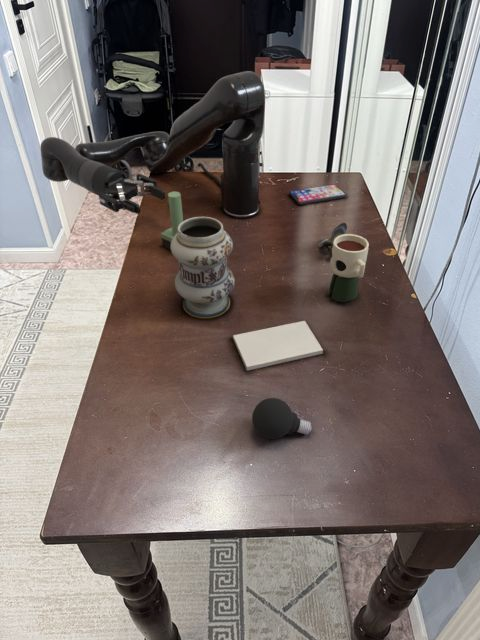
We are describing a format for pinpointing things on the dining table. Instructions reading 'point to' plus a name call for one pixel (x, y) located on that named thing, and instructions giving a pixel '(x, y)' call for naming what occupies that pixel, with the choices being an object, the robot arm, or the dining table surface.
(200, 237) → the apothecary jar
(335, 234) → the eagle figurine
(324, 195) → the smartphone
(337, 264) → the character mug
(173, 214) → the scrub brush
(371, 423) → the dining table surface
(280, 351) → the white tile
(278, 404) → the light bulb
